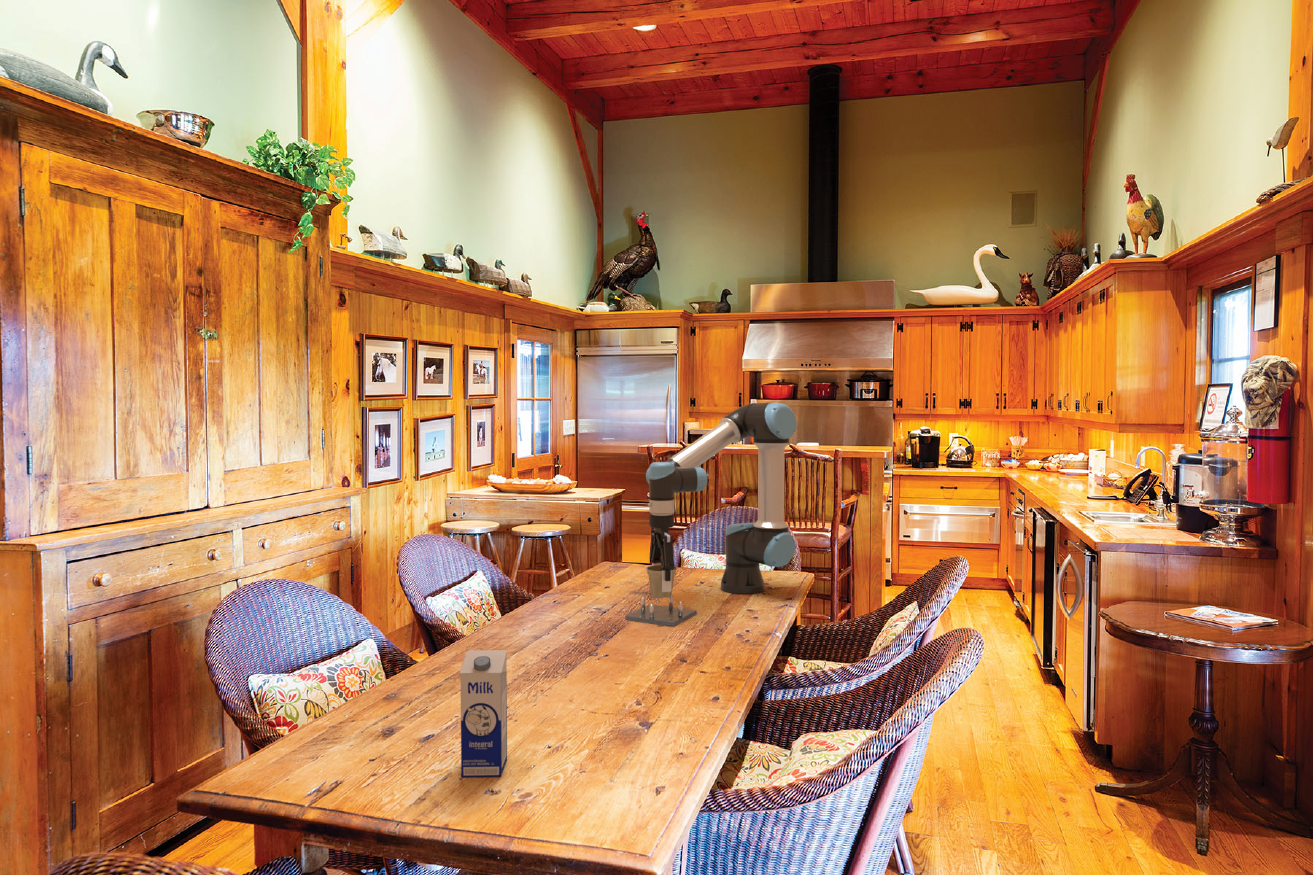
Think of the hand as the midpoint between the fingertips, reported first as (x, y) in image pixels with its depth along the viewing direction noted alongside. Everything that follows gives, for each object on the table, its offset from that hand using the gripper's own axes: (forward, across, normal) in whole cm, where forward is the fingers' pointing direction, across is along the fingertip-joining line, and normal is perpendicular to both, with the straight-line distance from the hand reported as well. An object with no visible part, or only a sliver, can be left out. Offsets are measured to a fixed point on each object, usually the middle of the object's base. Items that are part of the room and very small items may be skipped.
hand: (661, 587), depth 239 cm
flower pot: (+3, 0, 0) cm, 3 cm away
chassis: (+9, 0, 0) cm, 9 cm away
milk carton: (+9, +87, -60) cm, 106 cm away
